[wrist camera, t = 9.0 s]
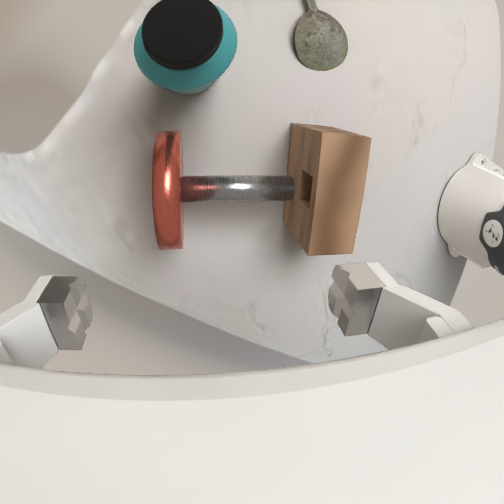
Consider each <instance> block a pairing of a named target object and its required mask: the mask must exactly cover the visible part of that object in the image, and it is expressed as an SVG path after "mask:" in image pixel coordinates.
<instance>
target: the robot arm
mask: <svg viewBox="0 0 504 504" xmlns="http://www.w3.org/2000/svg"><path fill="white" fill-rule="evenodd" d="M438 224H439V230H440V233H441V235H442V237H443V238H444V240H445V241H446V242H447V244H448V250H449V254H450V255H451V256H453V257H455V258H456V257H459V256H462V255H463V256H464V257H466V258H467V259H469V260H471V261H472V262H474V263H475V264H477V265H478V266H480V267H482V268H485V267H489V266H492V267H493V268H495V269H496V270H497V271H498V272H499V273H500V274H502V275H504V170H503V169H501V168H500V167H499V166H498V165H496V164H495V163H494V162H492V161H491V160H489V159H488V158H486V157H485V156H484V155H482V154H480V153H478V152H475V153H474V154H473V155H472V157H471V158H470V160H469V161H468V163H467V164H466V165H465V166H464V167H463V168H461V169H460V170H459V171H457V172H456V173H455V174H454V176H453V177H452V178H451V180H450V181H449V183H448V184H447V186H446V188H445V190H444V193H443V195H442V198H441V202H440V206H439V213H438ZM332 278H333V279H334V281H335V282H334V283H333V284H332V286H331V287H330V288H329V294H328V301H329V307H330V310H331V312H332V314H333V315H334V316H336V317H338V318H339V320H338V325H339V327H340V328H341V330H342V332H343V334H344V336H352V335H360V334H368V335H369V336H370V337H372V338H373V339H375V340H376V341H377V342H379V343H380V344H382V345H383V346H384V347H386V348H387V349H388V350H387V351H382V352H378V353H373V354H368V355H362V356H357V357H351V358H346V359H340V360H334V361H328V362H321V363H314V364H307V365H300V366H292V367H284V368H275V369H266V370H256V371H245V372H231V373H216V374H194V375H110V374H90V373H76V372H63V371H53V370H43V369H41V368H42V367H43V366H44V365H45V364H46V363H47V362H48V361H49V360H50V359H51V358H52V357H53V356H54V355H55V354H56V353H57V352H58V351H59V349H60V350H82V347H83V344H84V341H85V338H86V334H85V331H84V330H86V329H87V328H88V327H89V326H90V324H91V321H92V306H91V302H90V299H89V297H88V296H86V295H85V293H84V291H85V289H86V284H85V281H84V278H83V277H82V276H81V275H44V276H41V277H40V278H39V279H38V281H37V282H36V283H35V285H34V287H33V288H32V289H31V291H30V292H29V294H28V295H27V297H26V298H25V300H24V301H23V303H18V304H16V305H15V306H13V307H11V308H10V309H8V310H7V311H5V312H3V313H2V314H0V504H504V318H503V319H500V320H497V321H494V322H491V323H488V324H485V325H482V326H479V327H475V328H474V327H473V326H472V325H471V324H470V323H469V322H468V320H467V319H466V318H465V317H464V316H463V315H462V314H461V313H460V312H459V311H458V310H456V309H454V308H452V307H450V306H448V305H445V304H443V303H441V302H439V301H437V300H434V299H432V298H430V297H428V296H426V295H423V294H421V293H419V292H417V291H414V290H412V289H410V288H408V287H405V286H403V285H402V286H399V285H398V284H397V283H396V282H395V280H394V279H393V278H392V277H391V276H390V275H389V274H388V273H387V272H386V271H385V270H384V268H383V267H382V266H381V265H380V264H379V263H378V262H375V261H374V262H364V263H354V264H342V265H335V267H334V269H333V273H332Z"/></svg>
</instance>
